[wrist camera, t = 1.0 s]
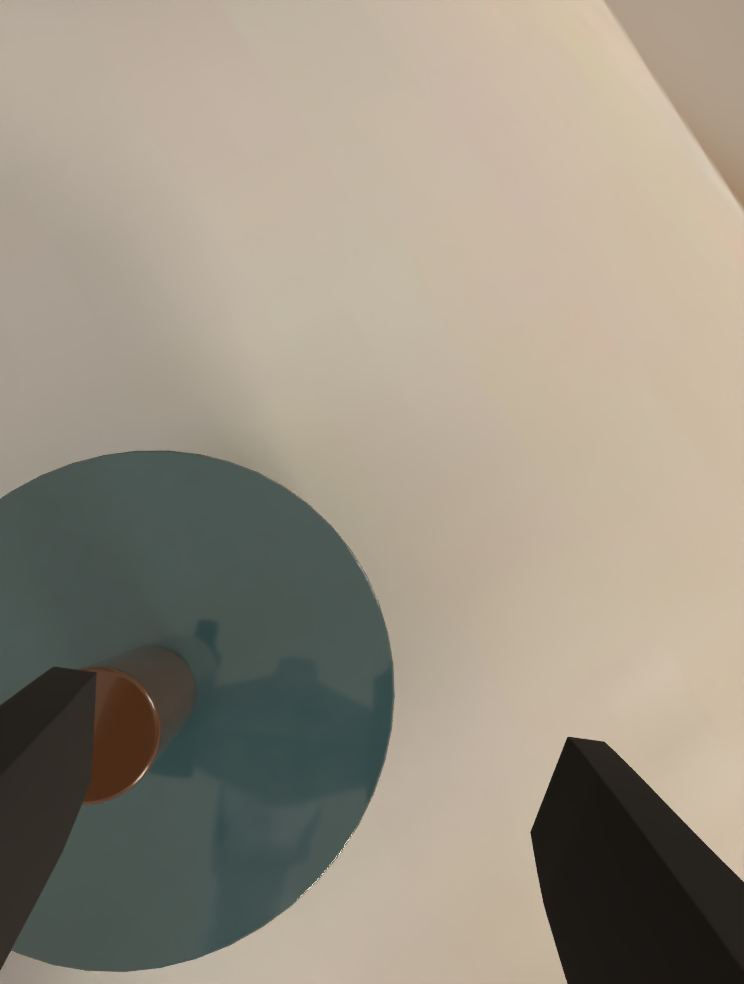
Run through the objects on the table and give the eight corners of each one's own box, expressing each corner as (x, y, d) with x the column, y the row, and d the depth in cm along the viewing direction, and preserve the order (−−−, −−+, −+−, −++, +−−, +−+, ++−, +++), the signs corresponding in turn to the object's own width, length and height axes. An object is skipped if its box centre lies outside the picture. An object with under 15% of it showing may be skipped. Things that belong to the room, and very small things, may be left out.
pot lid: (222, 1044, 16) (185, 1293, 10) (-214, 781, 15) (-499, 889, 10) (468, 608, 18) (546, 617, 13) (99, 375, 18) (13, 279, 12)
